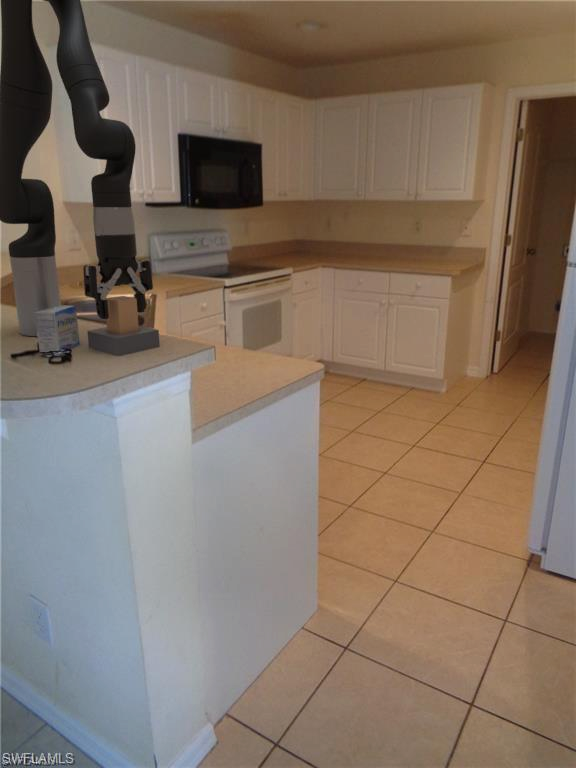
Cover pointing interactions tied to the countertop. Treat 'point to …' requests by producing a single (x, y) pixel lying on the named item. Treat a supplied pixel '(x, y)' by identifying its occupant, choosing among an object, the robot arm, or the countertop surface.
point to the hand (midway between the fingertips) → (122, 315)
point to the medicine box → (57, 328)
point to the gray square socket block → (123, 340)
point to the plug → (122, 315)
